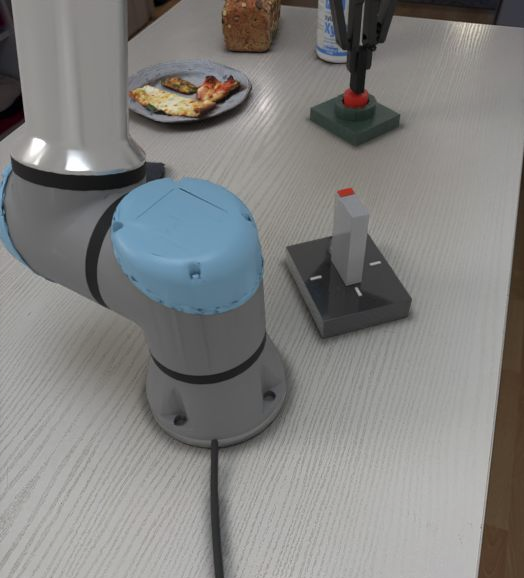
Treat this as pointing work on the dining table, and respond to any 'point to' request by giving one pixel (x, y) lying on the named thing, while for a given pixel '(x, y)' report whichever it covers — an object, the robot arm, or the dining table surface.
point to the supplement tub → (331, 33)
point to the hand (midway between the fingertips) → (356, 90)
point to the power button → (355, 98)
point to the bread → (250, 24)
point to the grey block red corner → (349, 236)
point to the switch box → (355, 119)
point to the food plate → (187, 90)
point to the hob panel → (346, 288)
